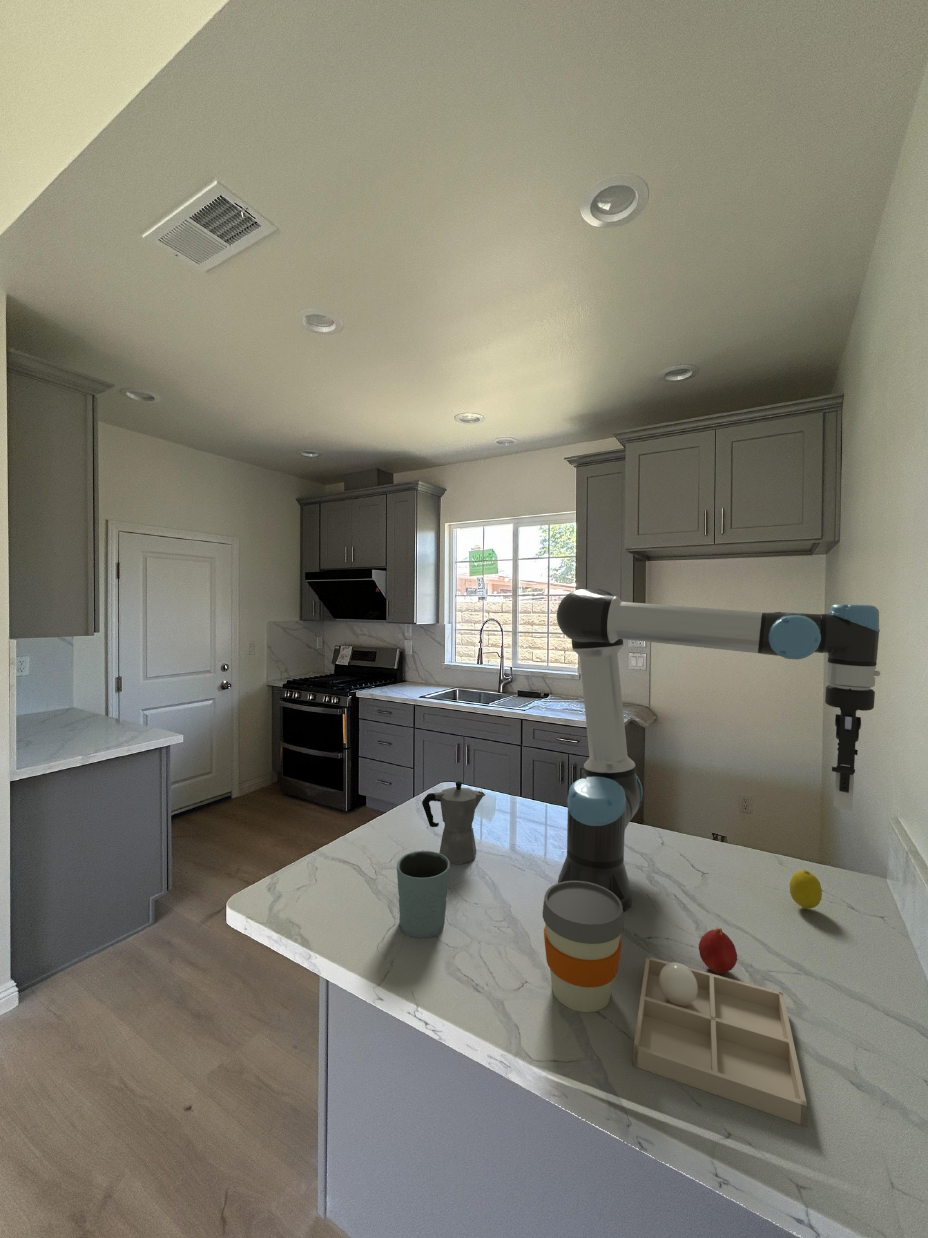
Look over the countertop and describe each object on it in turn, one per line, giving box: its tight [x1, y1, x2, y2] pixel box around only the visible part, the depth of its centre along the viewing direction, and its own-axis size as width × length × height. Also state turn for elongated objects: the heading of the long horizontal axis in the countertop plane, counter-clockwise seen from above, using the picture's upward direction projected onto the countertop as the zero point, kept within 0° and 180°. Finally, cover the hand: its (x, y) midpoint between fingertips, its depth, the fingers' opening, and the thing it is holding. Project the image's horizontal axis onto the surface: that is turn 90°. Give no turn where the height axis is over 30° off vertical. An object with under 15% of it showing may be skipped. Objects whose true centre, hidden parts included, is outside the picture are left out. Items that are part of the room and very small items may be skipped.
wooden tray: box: [632, 955, 808, 1127], centre depth 77 cm, size 20×20×3 cm
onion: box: [698, 926, 738, 975], centre depth 90 cm, size 6×6×8 cm
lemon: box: [789, 869, 823, 910], centre depth 109 cm, size 6×6×8 cm
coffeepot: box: [421, 781, 486, 865], centre depth 129 cm, size 15×9×18 cm, turn 103°
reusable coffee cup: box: [541, 881, 625, 1013], centre depth 85 cm, size 13×13×15 cm
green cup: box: [396, 850, 451, 939], centre depth 102 cm, size 10×10×12 cm
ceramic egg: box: [659, 961, 698, 1006], centre depth 83 cm, size 6×6×6 cm
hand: (843, 797), depth 102 cm, fingers open, 13 cm apart
